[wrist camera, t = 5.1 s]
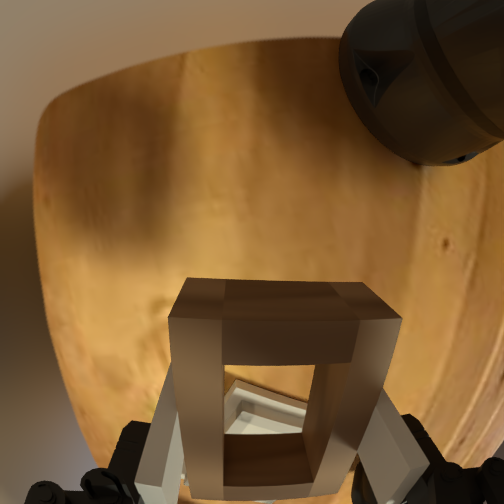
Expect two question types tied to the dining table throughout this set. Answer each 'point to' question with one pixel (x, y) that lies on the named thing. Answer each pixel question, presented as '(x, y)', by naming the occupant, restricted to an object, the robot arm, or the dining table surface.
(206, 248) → the dining table surface
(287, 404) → the white flat rectangular tray
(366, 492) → the mug
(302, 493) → the frame
